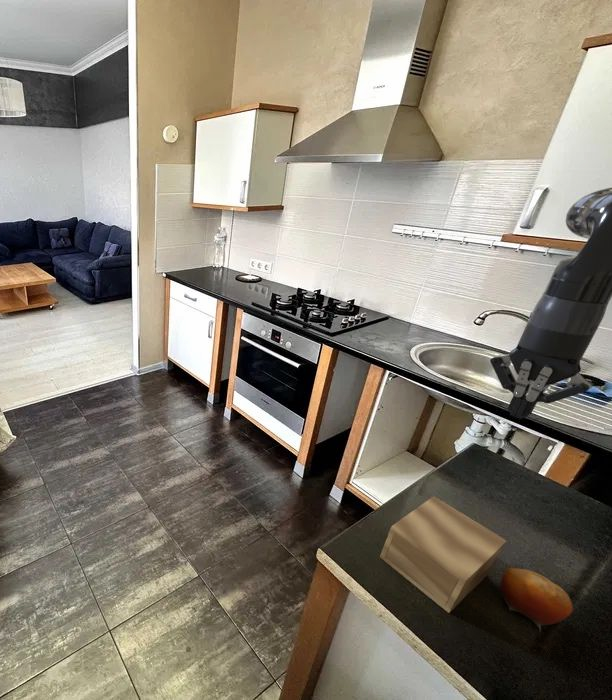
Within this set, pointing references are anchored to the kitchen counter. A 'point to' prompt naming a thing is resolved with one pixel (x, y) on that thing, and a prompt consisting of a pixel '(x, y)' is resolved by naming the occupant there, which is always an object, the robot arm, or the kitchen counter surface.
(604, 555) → the kitchen counter surface
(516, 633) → the kitchen counter surface
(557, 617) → the fruit
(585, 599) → the kitchen counter surface
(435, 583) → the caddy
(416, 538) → the lid
